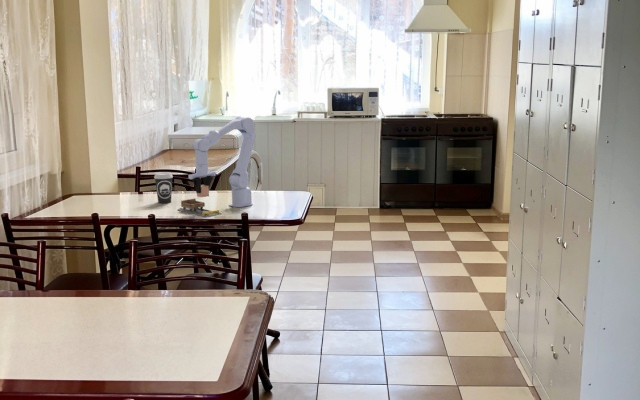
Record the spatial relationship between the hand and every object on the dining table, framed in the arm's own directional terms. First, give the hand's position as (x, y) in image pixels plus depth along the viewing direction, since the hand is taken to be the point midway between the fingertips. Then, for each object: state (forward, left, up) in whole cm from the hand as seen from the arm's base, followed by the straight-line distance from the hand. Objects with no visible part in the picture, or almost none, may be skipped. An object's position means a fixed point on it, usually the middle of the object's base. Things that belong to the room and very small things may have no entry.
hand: (202, 192), depth 327 cm
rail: (+3, +1, -9) cm, 10 cm away
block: (0, 0, -2) cm, 2 cm away
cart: (+3, -4, -9) cm, 10 cm away
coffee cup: (0, -33, -9) cm, 34 cm away
